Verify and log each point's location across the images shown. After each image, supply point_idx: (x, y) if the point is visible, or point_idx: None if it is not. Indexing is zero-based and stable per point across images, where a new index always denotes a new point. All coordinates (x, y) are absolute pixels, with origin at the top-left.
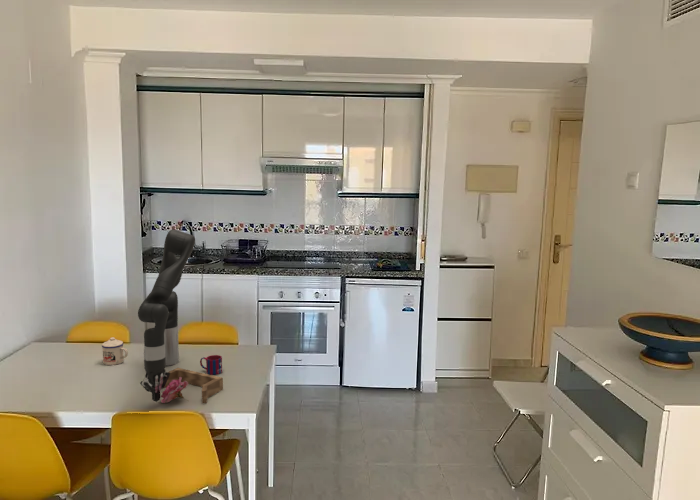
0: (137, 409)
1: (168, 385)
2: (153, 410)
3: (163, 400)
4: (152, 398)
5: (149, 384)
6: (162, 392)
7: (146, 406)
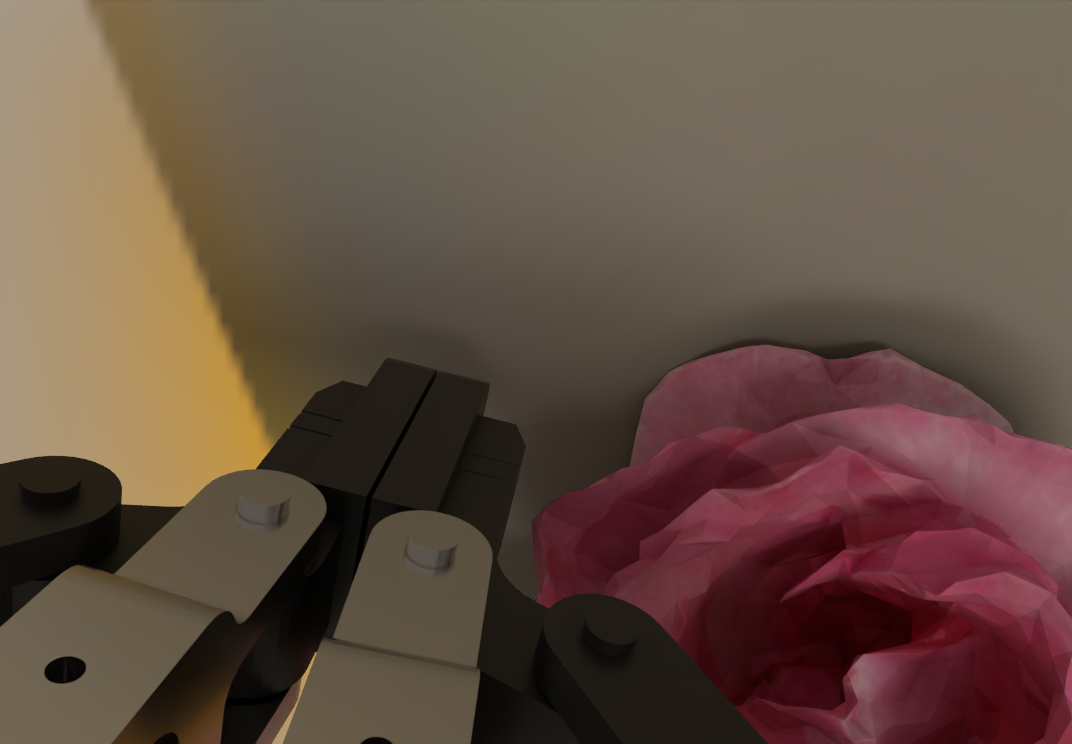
0: (164, 34)
1: (1053, 641)
2: (263, 412)
3: (701, 424)
4: (309, 417)
5: (47, 611)
6: (666, 550)
7: (375, 153)
